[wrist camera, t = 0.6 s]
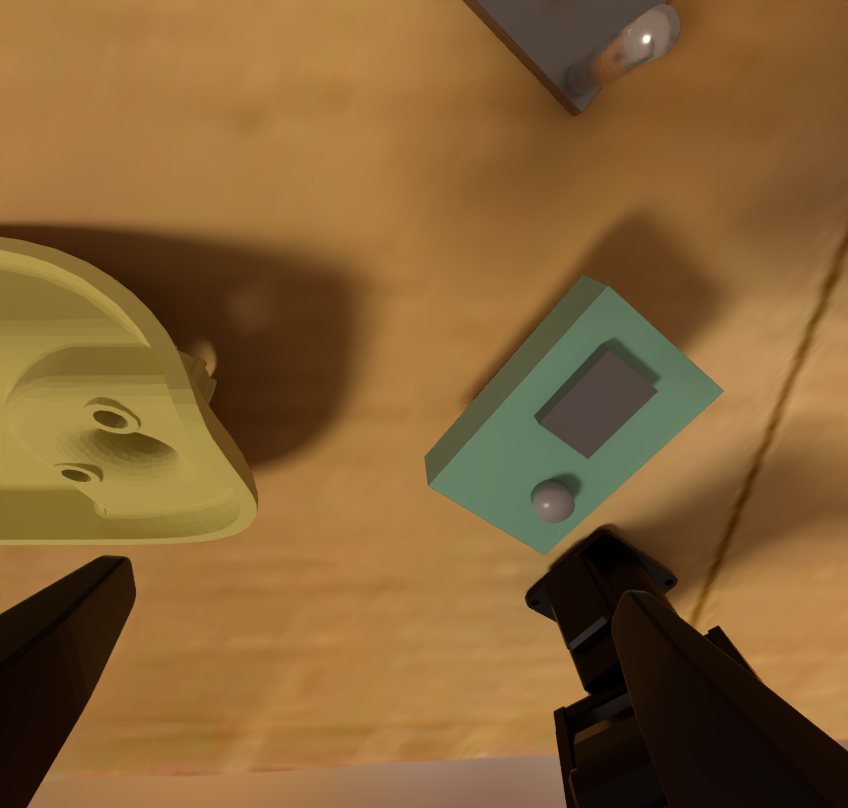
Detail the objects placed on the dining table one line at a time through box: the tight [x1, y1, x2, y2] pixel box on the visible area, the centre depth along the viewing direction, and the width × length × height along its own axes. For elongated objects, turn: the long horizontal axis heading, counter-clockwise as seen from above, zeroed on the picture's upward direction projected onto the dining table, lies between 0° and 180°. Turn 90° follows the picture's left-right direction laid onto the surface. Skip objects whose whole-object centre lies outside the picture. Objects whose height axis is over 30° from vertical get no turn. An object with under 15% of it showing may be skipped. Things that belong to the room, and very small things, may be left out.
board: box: [425, 275, 724, 555], centre depth 16 cm, size 6×9×3 cm, turn 143°
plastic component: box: [0, 237, 258, 545], centre depth 17 cm, size 20×7×10 cm
